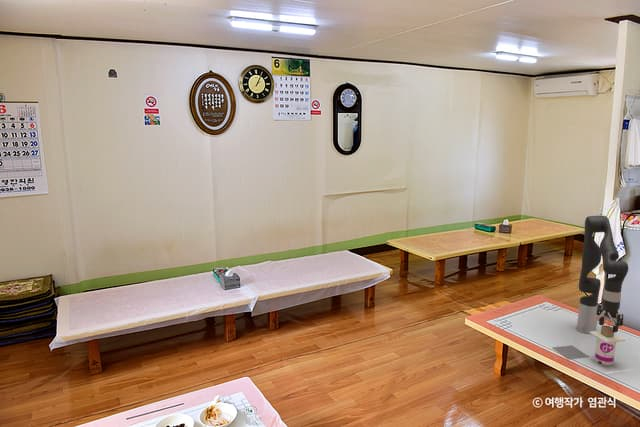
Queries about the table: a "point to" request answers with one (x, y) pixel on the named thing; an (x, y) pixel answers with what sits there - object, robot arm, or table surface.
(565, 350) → the rubber mat
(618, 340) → the board
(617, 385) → the table surface
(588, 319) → the robot arm
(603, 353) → the supplement can
